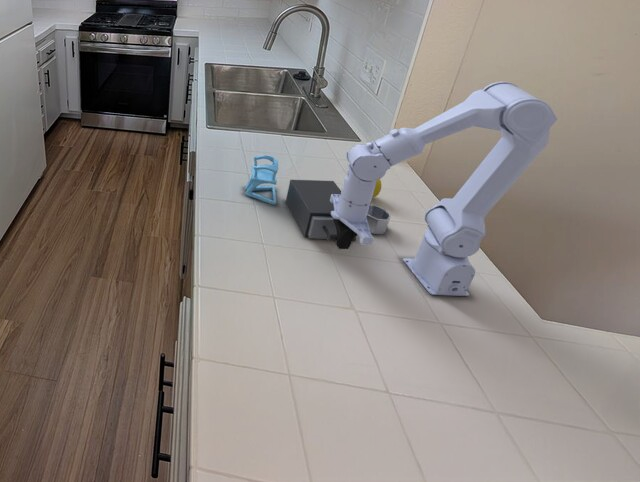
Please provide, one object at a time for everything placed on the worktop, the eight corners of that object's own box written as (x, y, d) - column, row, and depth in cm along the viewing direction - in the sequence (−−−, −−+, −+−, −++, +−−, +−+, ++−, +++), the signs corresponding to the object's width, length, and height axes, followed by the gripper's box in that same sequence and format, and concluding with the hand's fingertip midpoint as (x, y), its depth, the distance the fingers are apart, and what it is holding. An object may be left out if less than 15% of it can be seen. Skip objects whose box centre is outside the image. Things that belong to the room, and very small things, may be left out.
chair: (245, 184, 115) (250, 149, 110) (274, 189, 113) (281, 153, 108) (244, 199, 108) (250, 163, 103) (276, 205, 106) (283, 168, 101)
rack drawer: (362, 253, 89) (368, 233, 87) (316, 251, 89) (321, 232, 87) (329, 206, 104) (334, 188, 102) (291, 205, 105) (295, 187, 102)
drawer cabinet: (352, 239, 94) (359, 214, 91) (304, 237, 95) (310, 212, 92) (327, 203, 107) (333, 180, 104) (285, 202, 107) (290, 179, 104)
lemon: (380, 205, 106) (388, 181, 103) (358, 202, 107) (365, 178, 104) (372, 193, 111) (380, 169, 108) (352, 190, 112) (358, 167, 109)
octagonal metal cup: (390, 235, 96) (395, 220, 94) (366, 234, 96) (371, 219, 94) (376, 219, 101) (381, 205, 99) (354, 218, 101) (358, 204, 99)
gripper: (322, 178, 90) (311, 224, 95) (354, 219, 76) (339, 271, 81) (352, 178, 90) (340, 225, 95) (389, 220, 76) (373, 272, 81)
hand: (341, 246), depth 88 cm, fingers closed, pressing on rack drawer
